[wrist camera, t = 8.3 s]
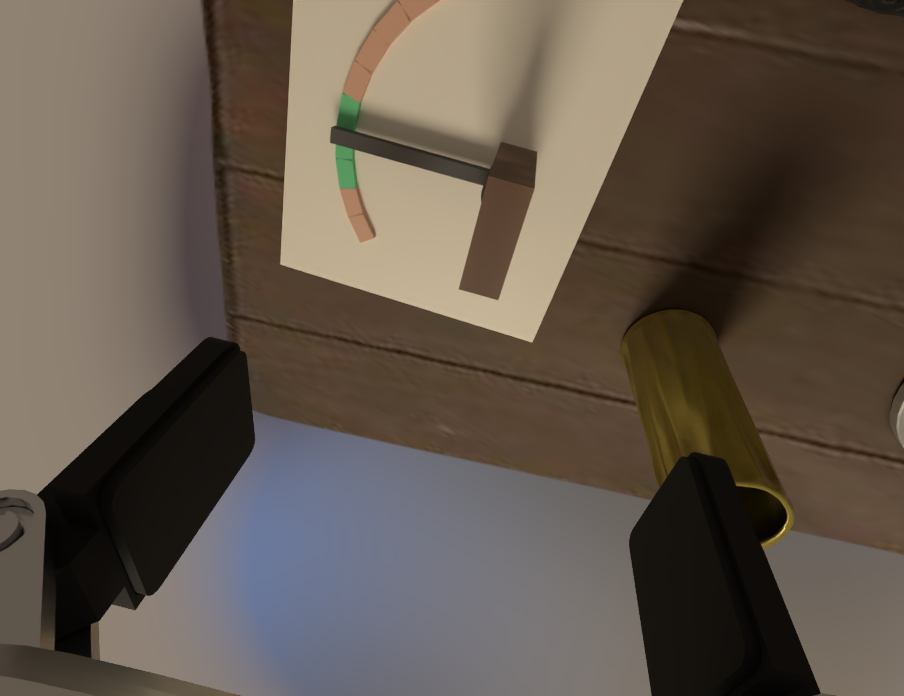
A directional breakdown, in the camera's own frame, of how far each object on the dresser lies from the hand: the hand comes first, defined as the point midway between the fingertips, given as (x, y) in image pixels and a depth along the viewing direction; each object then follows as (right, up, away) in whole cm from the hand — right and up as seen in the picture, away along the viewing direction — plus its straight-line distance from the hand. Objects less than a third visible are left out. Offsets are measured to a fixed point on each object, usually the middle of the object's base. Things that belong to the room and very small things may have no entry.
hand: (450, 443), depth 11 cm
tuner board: (0, +14, +18) cm, 23 cm away
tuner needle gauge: (-1, +13, +17) cm, 21 cm away
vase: (+15, +2, +23) cm, 28 cm away
